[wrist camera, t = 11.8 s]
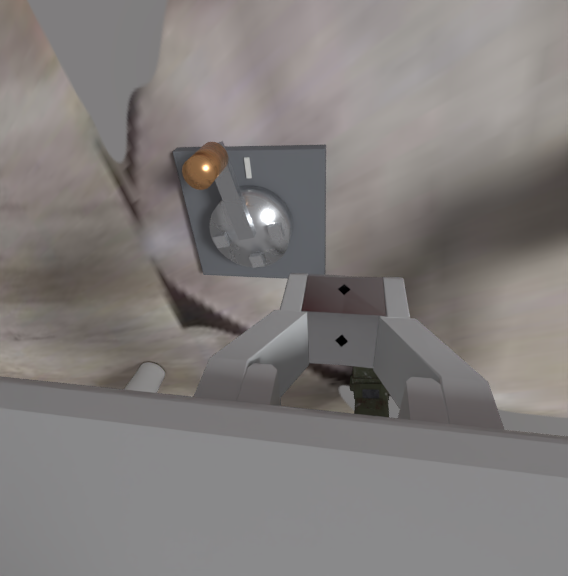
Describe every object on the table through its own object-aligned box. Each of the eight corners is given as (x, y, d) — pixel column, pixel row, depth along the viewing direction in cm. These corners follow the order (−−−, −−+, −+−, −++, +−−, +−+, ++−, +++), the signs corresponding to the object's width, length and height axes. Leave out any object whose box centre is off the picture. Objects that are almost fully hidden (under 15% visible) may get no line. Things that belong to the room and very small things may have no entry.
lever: (301, 249, 47) (291, 292, 40) (233, 259, 50) (212, 301, 43) (263, 119, 38) (240, 145, 31) (182, 141, 41) (145, 170, 34)
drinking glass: (165, 384, 76) (130, 452, 64) (134, 371, 75) (93, 438, 63) (173, 367, 72) (137, 437, 60) (141, 353, 71) (98, 422, 59)
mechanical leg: (392, 410, 67) (410, 599, 40) (353, 408, 69) (345, 589, 42) (390, 348, 62) (409, 518, 35) (348, 348, 64) (335, 510, 37)
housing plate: (325, 144, 40) (324, 149, 39) (325, 273, 51) (324, 281, 50) (177, 147, 43) (171, 152, 42) (206, 268, 54) (203, 275, 53)
